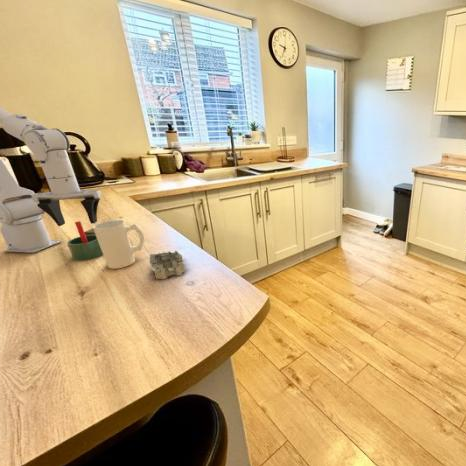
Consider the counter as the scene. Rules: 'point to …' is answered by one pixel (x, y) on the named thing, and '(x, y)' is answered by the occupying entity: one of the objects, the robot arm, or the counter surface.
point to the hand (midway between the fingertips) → (78, 223)
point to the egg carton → (166, 264)
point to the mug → (117, 242)
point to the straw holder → (90, 232)
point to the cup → (85, 248)
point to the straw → (81, 232)
